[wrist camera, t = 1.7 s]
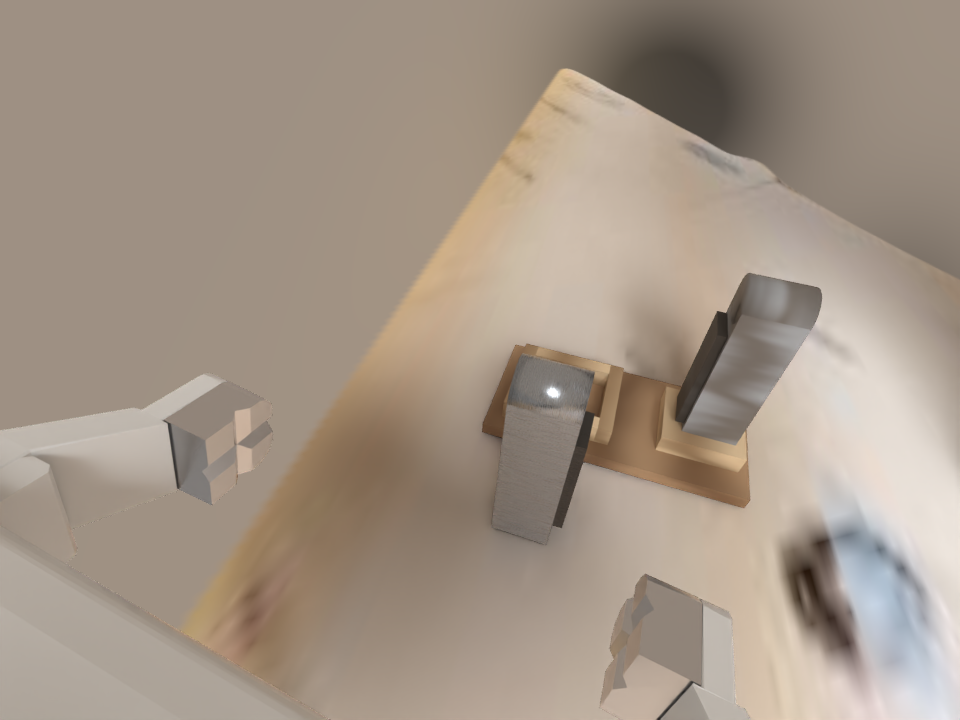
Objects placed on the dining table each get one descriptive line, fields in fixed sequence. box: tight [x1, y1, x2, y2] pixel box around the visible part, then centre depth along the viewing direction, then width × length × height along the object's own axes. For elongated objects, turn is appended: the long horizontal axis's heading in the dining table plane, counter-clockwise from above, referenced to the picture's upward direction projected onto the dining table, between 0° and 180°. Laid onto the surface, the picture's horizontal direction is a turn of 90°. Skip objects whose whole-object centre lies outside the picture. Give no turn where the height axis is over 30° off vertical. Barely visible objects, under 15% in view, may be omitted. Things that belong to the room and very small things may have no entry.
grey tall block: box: [491, 353, 595, 545], centre depth 29 cm, size 4×3×14 cm
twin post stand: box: [482, 273, 822, 508], centre depth 35 cm, size 18×9×14 cm, turn 72°
